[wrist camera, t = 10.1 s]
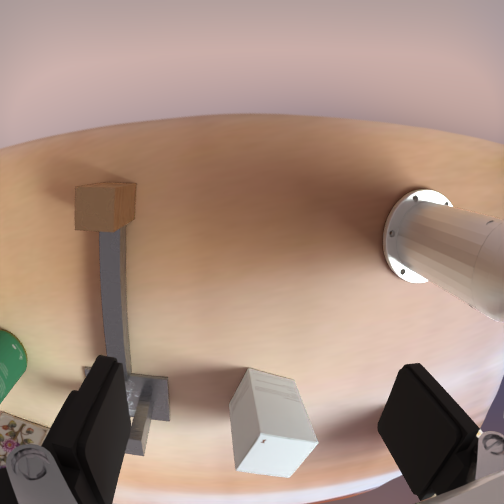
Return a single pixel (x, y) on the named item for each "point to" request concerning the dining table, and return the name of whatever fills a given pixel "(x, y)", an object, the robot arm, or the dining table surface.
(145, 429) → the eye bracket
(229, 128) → the dining table surface
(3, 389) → the beverage can
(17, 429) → the decorative jar
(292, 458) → the supplement box
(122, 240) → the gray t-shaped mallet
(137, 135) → the dining table surface
